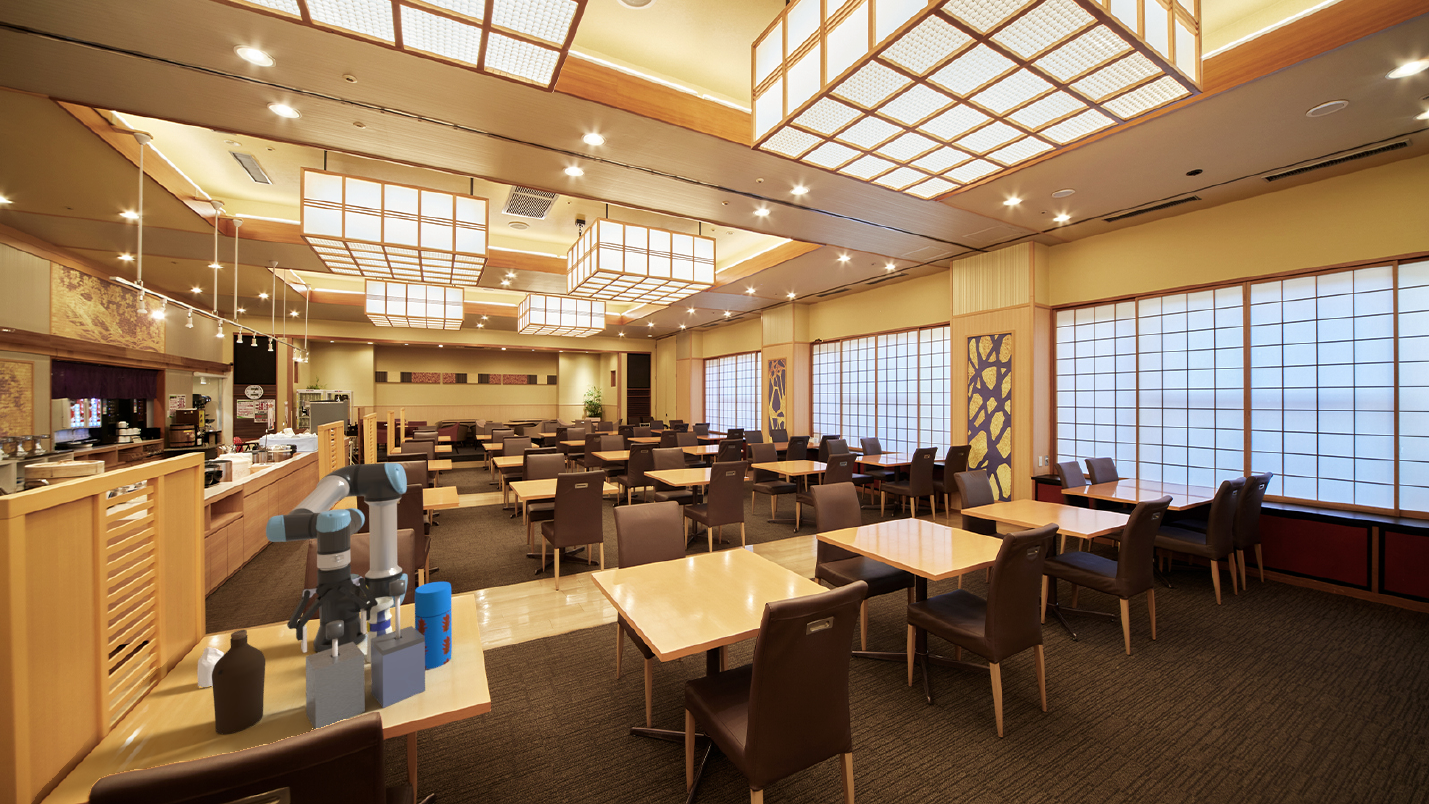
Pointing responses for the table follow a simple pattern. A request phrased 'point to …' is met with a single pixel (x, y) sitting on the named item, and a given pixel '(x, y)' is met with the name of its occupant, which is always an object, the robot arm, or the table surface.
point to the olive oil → (238, 686)
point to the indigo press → (397, 666)
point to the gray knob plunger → (397, 602)
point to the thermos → (434, 622)
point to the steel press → (334, 685)
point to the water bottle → (379, 621)
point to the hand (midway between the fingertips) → (334, 641)
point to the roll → (207, 666)
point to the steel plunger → (334, 634)
